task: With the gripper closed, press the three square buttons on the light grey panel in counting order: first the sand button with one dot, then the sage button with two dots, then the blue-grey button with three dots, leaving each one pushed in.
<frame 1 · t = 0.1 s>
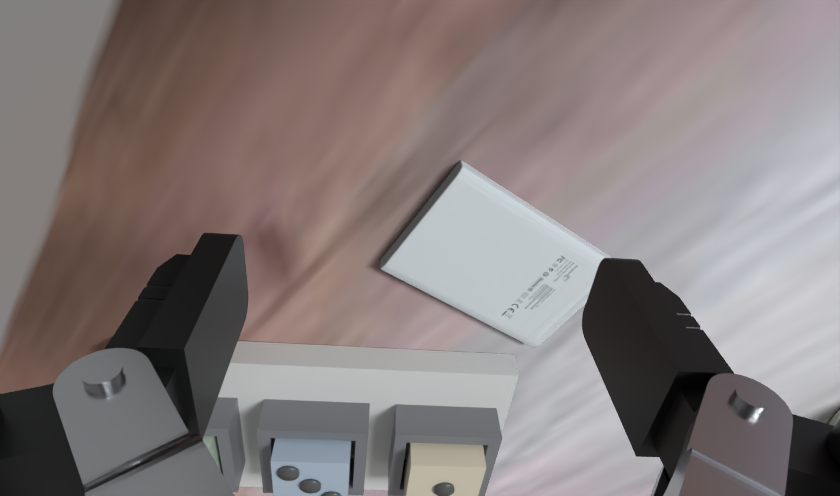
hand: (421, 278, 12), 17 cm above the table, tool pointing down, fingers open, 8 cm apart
button three: (312, 469, 37), point 5 cm above the table, slide at 0.0 cm
button panel: (320, 411, 41), on the table
button two: (176, 465, 36), point 5 cm above the table, slide at 0.0 cm
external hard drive: (498, 254, 34), on the table
button one: (442, 472, 38), point 5 cm above the table, slide at 0.0 cm
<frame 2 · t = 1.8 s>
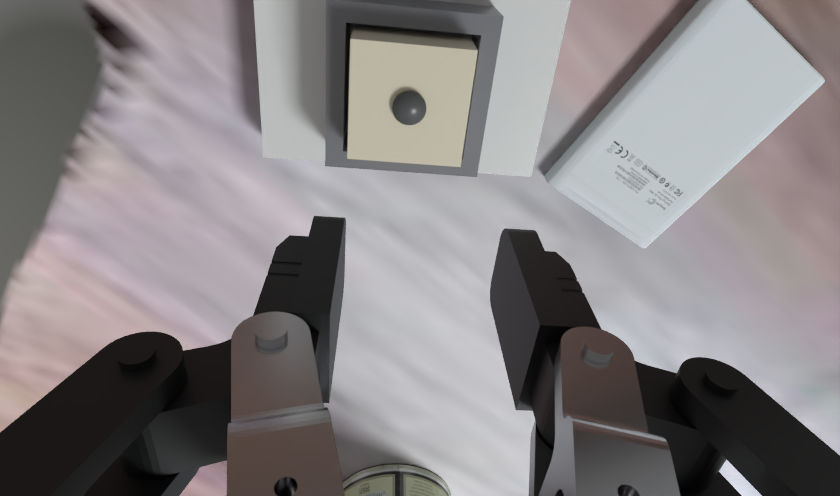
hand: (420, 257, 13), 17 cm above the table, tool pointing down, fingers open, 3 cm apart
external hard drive: (667, 123, 30), on the table
button one: (408, 98, 23), point 5 cm above the table, slide at 0.0 cm
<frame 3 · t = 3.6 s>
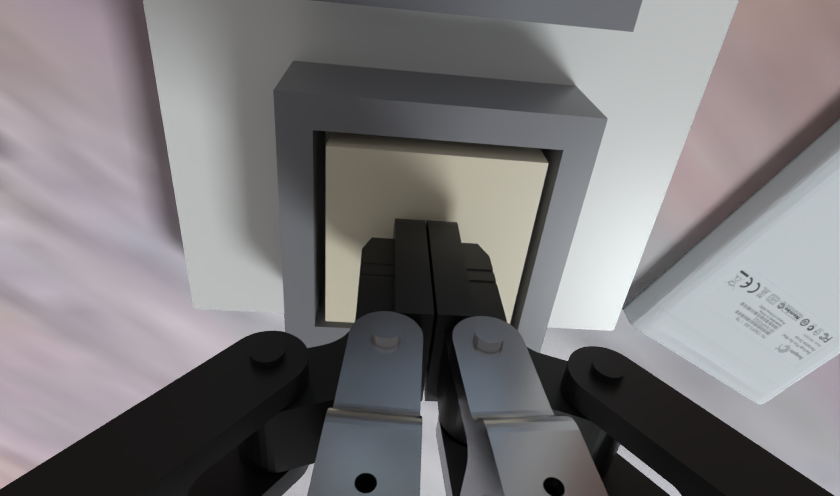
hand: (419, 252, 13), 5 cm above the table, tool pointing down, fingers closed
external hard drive: (814, 236, 20), on the table
button one: (425, 225, 14), point 3 cm above the table, slide at 1.4 cm, touching gripper
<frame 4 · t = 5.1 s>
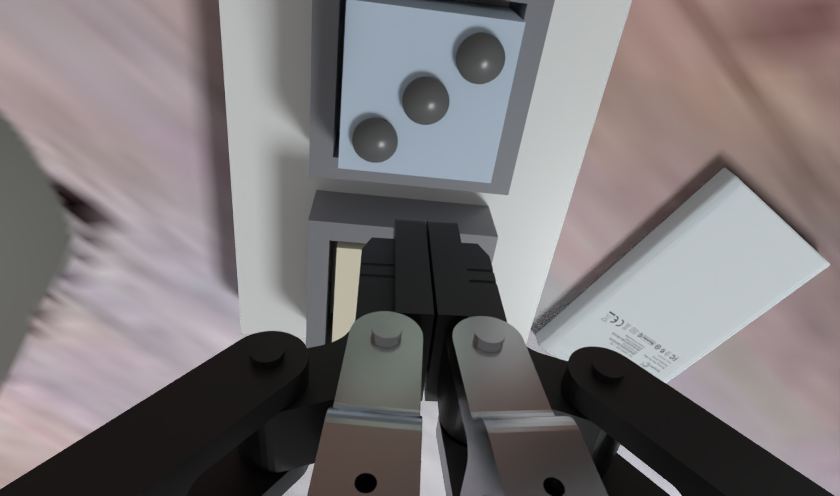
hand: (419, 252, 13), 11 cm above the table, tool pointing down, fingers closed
button three: (423, 88, 17), point 5 cm above the table, slide at 0.0 cm
button panel: (418, 53, 21), on the table
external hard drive: (665, 288, 29), on the table
button one: (395, 286, 23), point 3 cm above the table, slide at 1.5 cm, touching button panel
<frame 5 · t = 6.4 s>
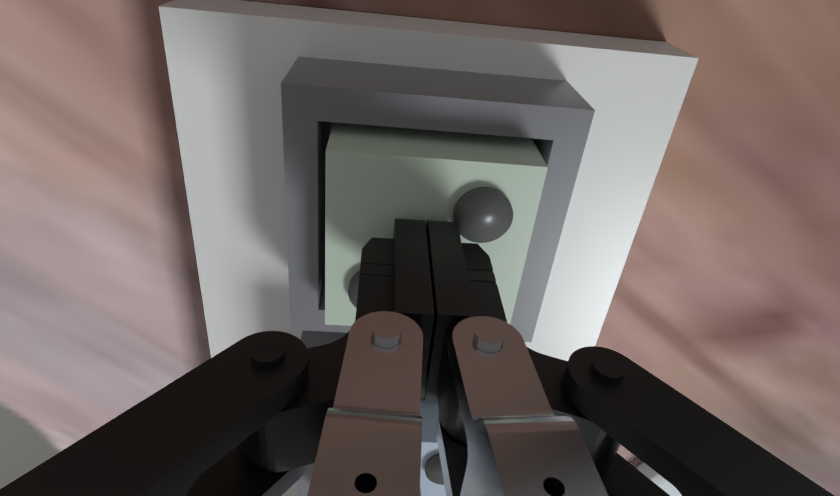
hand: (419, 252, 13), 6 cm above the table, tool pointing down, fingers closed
button three: (399, 460, 19), point 5 cm above the table, slide at 0.0 cm
button panel: (399, 360, 23), on the table
button two: (425, 229, 14), point 4 cm above the table, slide at 0.6 cm, touching gripper
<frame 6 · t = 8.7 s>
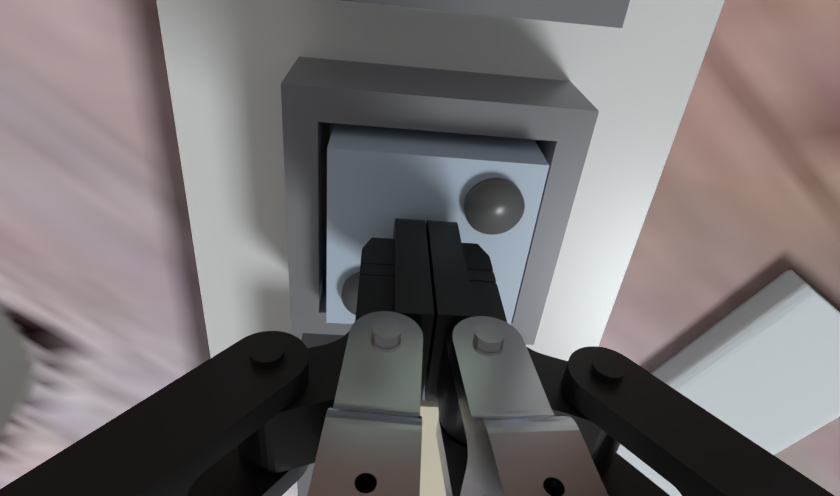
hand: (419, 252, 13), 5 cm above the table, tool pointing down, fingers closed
button three: (426, 227, 14), point 4 cm above the table, slide at 0.7 cm, touching gripper
button panel: (421, 164, 18), on the table
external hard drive: (712, 390, 25), on the table
button one: (400, 427, 20), point 3 cm above the table, slide at 1.5 cm, touching button panel
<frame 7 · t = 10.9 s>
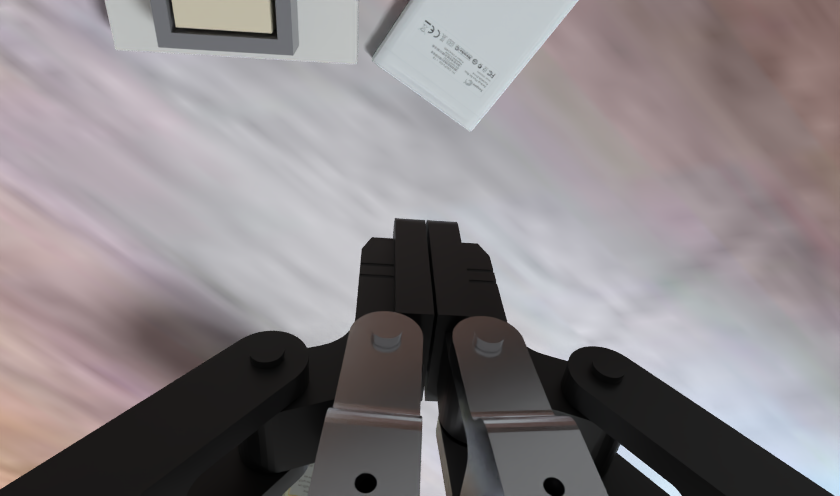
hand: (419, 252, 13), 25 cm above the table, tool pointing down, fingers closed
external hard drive: (480, 11, 34), on the table
coffee can: (301, 403, 52), on the table
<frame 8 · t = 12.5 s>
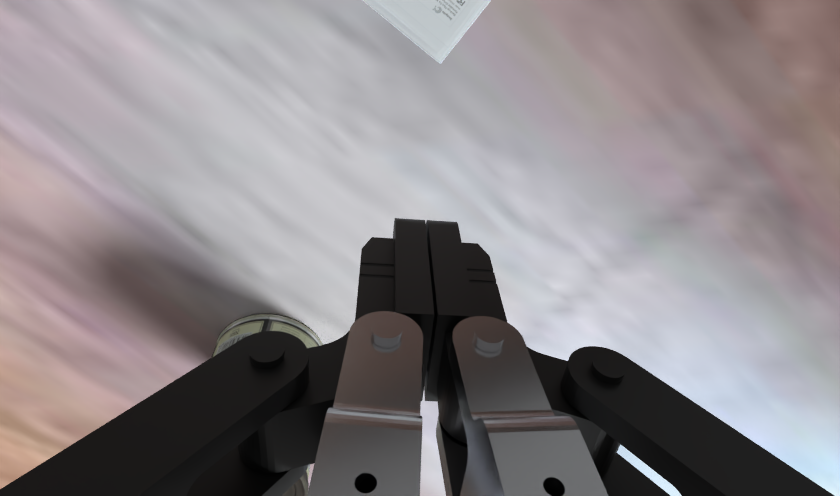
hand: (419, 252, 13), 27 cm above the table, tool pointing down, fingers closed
coffee can: (272, 353, 51), on the table
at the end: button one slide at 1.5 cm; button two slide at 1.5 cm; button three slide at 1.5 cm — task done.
